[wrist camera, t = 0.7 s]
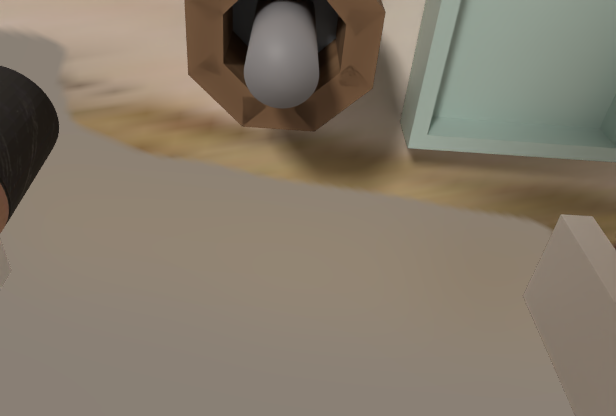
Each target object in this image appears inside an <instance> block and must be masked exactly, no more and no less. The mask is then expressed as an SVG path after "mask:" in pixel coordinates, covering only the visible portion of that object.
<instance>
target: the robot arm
mask: <svg viewBox="0 0 616 416" xmlns="http://www.w3.org/2000/svg"><path fill="white" fill-rule="evenodd" d="M10 273H11V267H10V264H9V262H8V259H7V256H6V253H5V250H4V247H3V244H2V242H1V239H0V289H1V288H2V286H3V284H4V283H5V281H6V279H7V278H8V276H9V274H10ZM523 298H524V300H525V302H526V304H527V307H528V309H529V311H530V314H531V316H532V318H533V320H534V323H535V325H536V327H537V330H538V332H539V334H540V337H541V339H542V341H543V343H544V346H545V348H546V350H547V353H548V355H549V357H550V359H551V362H552V364H553V366H554V369H555V371H556V373H557V376H558V378H559V380H560V382H561V385H562V387H563V389H564V392H565V394H566V396H567V398H568V400H569V403H570V405H571V408H572V410H573V412H574V414H575V416H616V250H615V248H614V247H613V245H612V244H611V243H610V241H609V240H608V238H607V237H606V235H605V234H604V232H603V231H602V229H601V228H600V226H599V225H598V223H597V222H596V221H595V219H594V218H593V216H580V215H563V214H561V215H560V217H559V219H558V222H557V224H556V226H555V228H554V230H553V232H552V234H551V237H550V239H549V241H548V243H547V245H546V247H545V250H544V252H543V254H542V256H541V258H540V260H539V262H538V264H537V267H536V269H535V271H534V273H533V275H532V277H531V279H530V282H529V284H528V286H527V288H526V290H525V292H524V295H523Z"/></svg>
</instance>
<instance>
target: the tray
mask: <svg viewBox="0 0 616 416" xmlns="http://www.w3.org/2000/svg"><path fill="white" fill-rule="evenodd" d="M400 124H401V127H402V131H403V134H404V137H405V141H406V144H407V147H408V148H413V149H427V150H442V151H457V152H471V153H486V154H501V155H515V156H530V157H545V158H559V159H574V160H588V161H603V162H616V0H426V2H425V7H424V12H423V16H422V21H421V26H420V30H419V35H418V40H417V45H416V49H415V54H414V59H413V63H412V68H411V73H410V78H409V82H408V87H407V92H406V96H405V101H404V106H403V111H402V115H401V120H400Z"/></svg>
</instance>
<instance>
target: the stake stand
mask: <svg viewBox="0 0 616 416" xmlns="http://www.w3.org/2000/svg"><path fill="white" fill-rule="evenodd" d="M337 22H338V14H337V12H336V11H335V10H334V9H333V7H332V6H331V5H330V4H329V2H328V1H327V0H238V1H237V2H236V3H235V4H234V5H233V31H234V32H235V33H236V34H237V36H238V37H239V38H240V39H241V40H242V41H243V42H244V43H245V44H246V45H247V46H248V51H247V56H246V61H245V65H244V79H245V83H246V85H247V87H248V89H249V91H250V92H251V94H252V95H253V96H254V97H255V98H256V99H257V100H258V101H260V102H261V103H263V104H265V105H267V106H270V107H274V108H291V107H295V106H298V105H300V104H302V103H303V102H305V101H306V100H307V99H308V98H309V97H310V96H311V95H312V94H313V92H314V91H315V89H316V87H317V84H318V80H319V63H318V52H320V51H321V50H322V49H323V48H325V47H326V46H327V45H328V44H330V43H331V42H332V41H333V40H334V39H336V30H337Z"/></svg>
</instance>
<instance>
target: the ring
mask: <svg viewBox="0 0 616 416" xmlns="http://www.w3.org/2000/svg"><path fill="white" fill-rule="evenodd" d="M237 1H238V0H185V19H186V38H187V57H188V75H189V76H190V77H191V78H192V79H193V80H195V81H196V82H197V83H198V84H199V85H200V86H201V87H202V88H203V89H204V90H205V91H206V92H207V93H208V94H209V95H210V96H211V97H212V98H213V99H214V100H215V101H216V102H217V103H219V104H220V105H221V106H222V107H223V108H224V109H225V110H226V111H227V112H228V113H229V114H230V115H231V116H232V117H233V118H234V119H235V120H236V121H237V122H238V123H239V124H240V125H241V126H243V127H258V128H272V129H286V130H301V131H316V130H317V129H318V128H320V127H321V126H322V125H324V124H325V123H326V122H328V121H329V120H330V119H332V118H333V117H335V116H336V115H337V114H339V113H340V112H341V111H343V110H344V109H345V108H347V107H348V106H349V105H351V104H352V103H353V102H355V101H356V100H357V99H359V98H360V97H362V96H363V95H364V94H366V93H367V92H368V91H370V90H371V89H372V88H373V82H374V76H375V71H376V65H377V59H378V53H379V47H380V41H381V35H382V29H383V24H384V18H385V10H384V7H383V4H382V2H381V0H327V1H328V2H329V4H330V5H331V6H332V7H333V9H334V10H335V11H336V12H337V14H338V22H337V30H336V39H334V40H333V41H332V42H331V43H330V44H328V45H327V46H326V47H325V48H323V49H322V50H321V51H320V52H318V63H319V80H318V84H317V87H316V89H315V91H314V92H313V94H312V95H311V96H310V97H309V98H308V99H307V100H306V101H305V102H303V103H302V104H300V105H298V106H295V107H291V108H274V107H270V106H267V105H265V104H263V103H261V102H260V101H258V100H257V99H256V98H255V97H254V96H253V95H252V94H251V92H250V91H249V89H248V87H247V85H246V83H245V79H244V65H245V61H246V56H247V51H248V46H247V45H246V44H245V43H244V42H243V41H242V40H241V39H240V38H239V37H238V36H237V34H236V33H235V32H234V31H233V5H234V4H235V3H236V2H237Z"/></svg>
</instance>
